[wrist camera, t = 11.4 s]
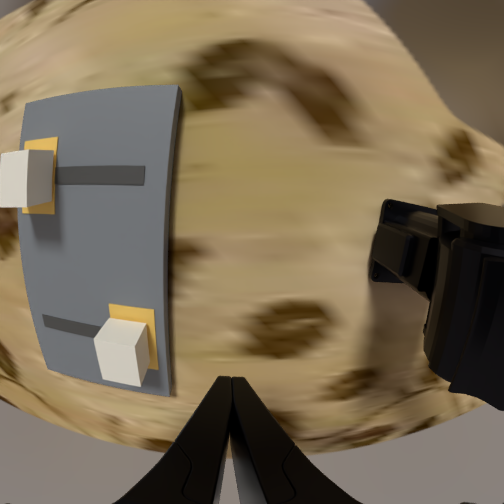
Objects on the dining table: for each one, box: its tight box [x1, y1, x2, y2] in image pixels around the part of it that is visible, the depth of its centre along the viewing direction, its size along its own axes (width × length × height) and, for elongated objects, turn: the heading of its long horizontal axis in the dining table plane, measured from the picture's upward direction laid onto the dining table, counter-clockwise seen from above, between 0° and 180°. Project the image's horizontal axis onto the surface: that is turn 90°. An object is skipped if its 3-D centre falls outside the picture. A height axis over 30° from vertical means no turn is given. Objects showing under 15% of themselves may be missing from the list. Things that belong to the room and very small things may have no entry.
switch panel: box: [18, 85, 182, 397], centre depth 18 cm, size 13×24×2 cm, turn 174°
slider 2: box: [94, 318, 150, 387], centre depth 17 cm, size 3×4×3 cm
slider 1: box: [0, 149, 54, 207], centre depth 14 cm, size 3×4×3 cm
